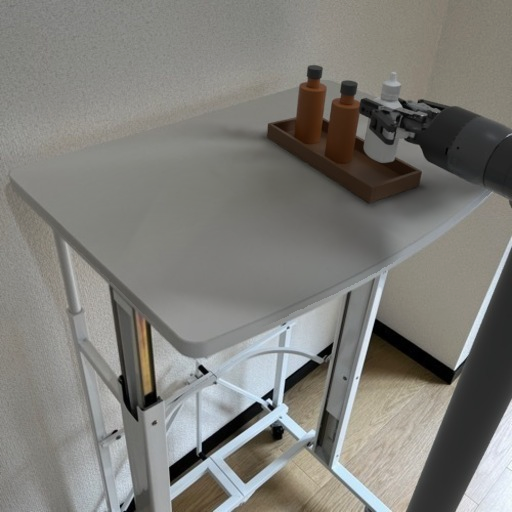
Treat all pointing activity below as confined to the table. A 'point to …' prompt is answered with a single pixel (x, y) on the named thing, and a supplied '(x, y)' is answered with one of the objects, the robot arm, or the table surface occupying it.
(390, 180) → the tray
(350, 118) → the amber bottle middle
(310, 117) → the amber bottle far
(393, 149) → the eye dropper bottle
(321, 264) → the table surface
